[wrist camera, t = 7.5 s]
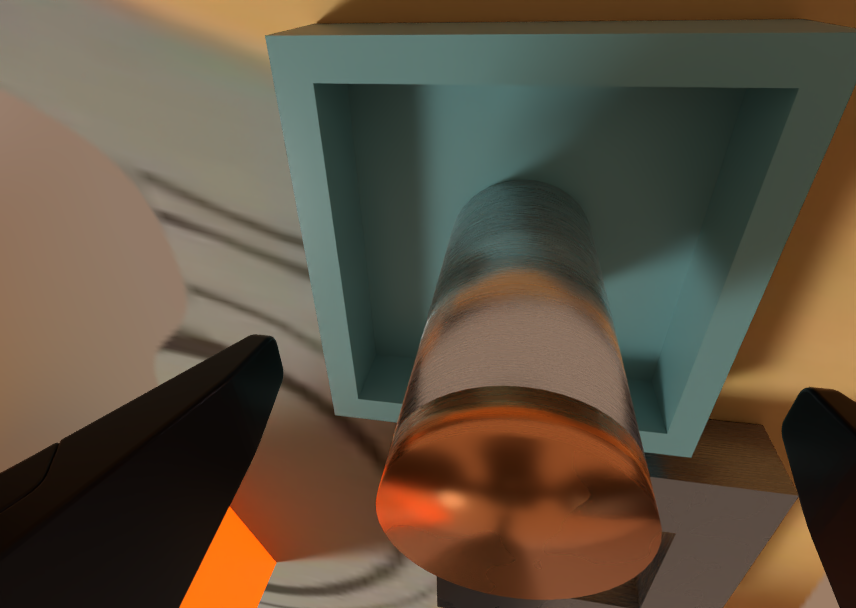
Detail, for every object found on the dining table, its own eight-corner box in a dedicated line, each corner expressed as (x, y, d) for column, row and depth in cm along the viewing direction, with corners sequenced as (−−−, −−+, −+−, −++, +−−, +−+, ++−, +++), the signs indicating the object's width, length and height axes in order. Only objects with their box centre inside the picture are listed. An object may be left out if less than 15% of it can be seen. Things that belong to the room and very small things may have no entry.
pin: (580, 308, 13) (627, 617, 7) (450, 298, 14) (385, 576, 8) (604, 182, 11) (700, 458, 5) (450, 176, 12) (362, 420, 6)
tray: (669, 391, 15) (691, 457, 13) (358, 360, 17) (335, 415, 15) (803, 19, 9) (878, 31, 7) (314, 23, 11) (265, 36, 9)
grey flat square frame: (677, 585, 21) (692, 651, 19) (446, 548, 22) (437, 606, 20) (762, 425, 15) (798, 495, 13) (446, 391, 17) (434, 449, 15)
